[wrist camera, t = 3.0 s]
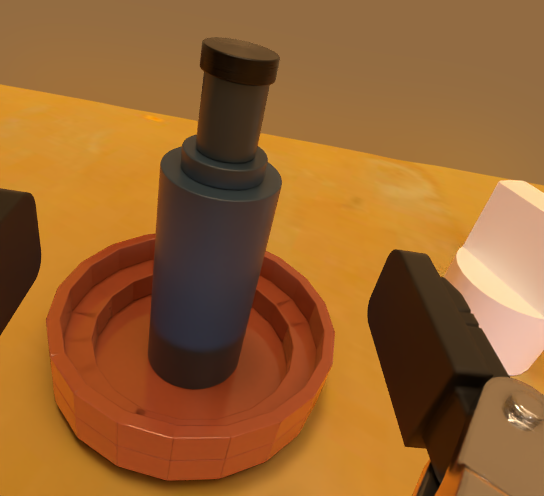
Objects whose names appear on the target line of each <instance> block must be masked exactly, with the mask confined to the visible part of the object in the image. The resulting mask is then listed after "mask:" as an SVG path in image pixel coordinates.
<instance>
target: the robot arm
mask: <svg viewBox="0 0 544 496" xmlns="http://www.w3.org/2000/svg"><path fill="white" fill-rule="evenodd" d="M40 263H41V247H40V238H39V230H38V221H37V213H36V204H35V200H34V197H33V195H32V194H31V193H27V192H21V191H14V190H7V189H1V188H0V335H1V333H2V332H3V330H4V329H5V327H6V326H7V324H8V322H9V321H10V319H11V318H12V316H13V315H14V313H15V311H16V310H17V308H18V307H19V305H20V303H21V302H22V300H23V299H24V297H25V296H26V294H27V292H28V291H29V289H30V288H31V286H32V285H33V283H34V281H35V280H36V277H37V275H38V272H39V269H40ZM368 323H369V327H370V330H371V334H372V337H373V340H374V344H375V347H376V351H377V354H378V357H379V361H380V364H381V367H382V371H383V374H384V378H385V381H386V384H387V388H388V391H389V394H390V398H391V401H392V405H393V408H394V411H395V415H396V418H397V421H398V425H399V428H400V432H401V435H402V438H403V442H404V445H405V447H414V448H426V449H427V451H428V454H429V457H430V459H429V461H428V462H427V463H426V465H425V467H424V468H423V471H422V473H421V475H420V478H419V480H418V482H417V485H416V487H415V489H414V492H413V494H412V496H544V395H543V394H541V393H540V392H539V391H537V390H536V389H534V388H533V387H531V386H530V385H528V384H526V383H524V382H522V381H519V380H516V379H513V378H510V376H509V375H508V373H507V371H506V370H505V368H504V366H503V364H502V363H501V361H500V359H499V358H498V356H497V354H496V352H495V351H494V349H493V347H492V345H491V344H490V342H489V340H488V339H487V337H486V335H485V333H484V332H483V330H482V328H479V323H478V321H477V320H476V318H475V316H474V314H472V313H471V309H470V308H469V306H468V304H467V302H466V301H465V299H464V297H463V296H462V294H461V293H460V292H459V291H458V290H457V289H456V288H455V287H454V286H453V285H452V284H451V283H450V282H449V281H448V280H447V279H446V278H443V277H440V276H439V274H438V272H437V270H436V268H435V267H434V265H433V263H432V261H431V259H430V258H429V256H428V255H427V254H423V253H416V252H410V251H403V250H396V249H395V250H393V251H392V252H391V253H390V254H389V256H388V258H387V260H386V263H385V265H384V267H383V270H382V272H381V274H380V277H379V279H378V281H377V283H376V286H375V288H374V290H373V293H372V295H371V297H370V300H369V304H368Z"/></svg>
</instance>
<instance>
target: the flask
mask: <svg viewBox="0 0 544 496" xmlns="http://www.w3.org/2000/svg"><path fill="white" fill-rule="evenodd" d="M279 60H280V57H279V55H278V54H277V53H275V52H274V51H272V50H270V49H268V48H265V47H263V46H260V45H257V44H253V43H250V42H245V41H241V40H236V39H229V38H217V37H215V38H207V39H204V40H203V42H202V50H201V59H200V67H201V69H202V70H203V71H204V77H203V86H202V94H201V104H200V112H199V121H198V130H197V135H193V136H191V137H189V138H187V139H186V140H185V141H184V142H183V144H182V147H178V148H175V149H173V150H171V151H169V152H168V153H166V154H165V155H164V156H163V158H162V160H161V164H160V178H159V193H158V208H157V222H156V237H155V252H154V267H153V282H152V297H151V312H150V327H149V341H148V358H149V362H150V365H151V366H152V368H153V370H154V371H155V372H156V374H157V375H158V376H160V377H161V378H162V379H163V380H165V381H166V382H168V383H170V384H172V385H174V386H177V387H181V388H186V389H204V388H209V387H213V386H215V385H218V384H220V383H221V382H223V381H225V380H226V379H227V378H228V377H230V375H231V374H232V373H233V372H234V370H235V369H236V367H237V365H238V361H239V357H240V353H241V349H242V345H243V341H244V337H245V333H246V329H247V325H248V320H249V316H250V312H251V308H252V304H253V300H254V296H255V292H256V288H257V284H258V280H259V275H260V271H261V267H262V263H263V259H264V255H265V251H266V247H267V243H268V239H269V235H270V230H271V226H272V222H273V218H274V214H275V210H276V206H277V202H278V198H279V194H280V190H281V185H282V180H281V176H280V174H279V173H278V171H277V170H276V169H275V168H274V167H273V166H272V165H271V164H269V163H268V158H267V155H266V153H265V152H264V151H263V150H262V149H261V148H260V147H258V141H259V136H260V131H261V126H262V121H263V115H264V111H265V105H266V101H267V96H268V91H269V86H270V85H271V84H273V83H274V82H275V80H276V75H277V70H278V65H279Z"/></svg>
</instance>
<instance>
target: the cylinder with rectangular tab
mask: <svg viewBox="0 0 544 496" xmlns="http://www.w3.org/2000/svg"><path fill="white" fill-rule="evenodd" d="M443 278H446V279H447V280H448V281H449V282H450V283H451V284H452V285H453V286H454V287H455V288H456V289H457V290H458V291H459V292H460V293H461V294H462V296H463V297H464V299H465V301H466V302H467V304H468V306H469V308H470V309H471V313H472V314H474V316H475V318H476V320H477V321H478V323H479V328H482V330H483V332H484V333H485V335H486V337H487V339H488V340H489V342H490V344H491V345H492V347H493V349H494V351H495V352H496V354H497V356H498V358H499V359H500V361H501V363H502V364H503V366H504V368H505V370H506V371H507V373H508V375H509V376H510V375H519V374H521V373H523V372H525V371H527V370H528V369H529V368H530V366H531V365H532V364H533V363H534V361H535V360H536V359H537V358H538V357H539V355H540V354H541V353H542V352H543V351H544V193H543V192H541V191H539V190H538V189H536V188H535V187H533V186H531V185H530V184H528V183H527V182H524V181H516V180H505V181H500V182H498V184H497V186H496V188H495V190H494V191H493V193H492V195H491V197H490V198H489V200H488V202H487V204H486V206H485V207H484V209H483V211H482V213H481V215H480V216H479V218H478V220H477V222H476V224H475V225H474V227H473V229H472V231H471V233H470V234H469V236H468V238H467V240H466V241H465V243H464V245H463V247H461V248H460V249H459V250H458V251H457V253H456V255H455V257H454V259H453V261H452V262H451V264H450V266H449V268H448V270H447V271H446V273H445V275H444V277H443Z"/></svg>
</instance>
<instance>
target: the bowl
mask: <svg viewBox="0 0 544 496" xmlns="http://www.w3.org/2000/svg"><path fill="white" fill-rule="evenodd" d="M155 237H156V234H148V235H143V236H140V237H136V238H133V239H129V240H126V241H123V242H119V243H116V244H113V245H111V246H109V247H107V248H105V249H104V250H102V251H100V252H98V253H97V254H95V255H93V256H91V257H90V258H88V259H86V260H84V261H83V262H81V263H80V264H79V265H78V266H77V268H76V269H75V270H74V271H73V272H72V273H71V274H70V275H69V276H68V277H67V278H66V279H65V280H64V281H63V283H62V284H61V285H60V286H59V287H58V289H57V291H56V294H55V297H54V299H53V302H52V305H51V307H50V310H49V313H48V315H47V318H46V326H47V335H48V344H49V353H50V362H51V370H52V378H53V386H54V395H55V401H56V403H57V405H58V407H59V408H60V410H61V412H62V413H63V415H64V416H65V418H66V420H67V421H68V423H69V425H70V426H71V428H72V430H73V431H74V433H75V434H76V436H77V437H78V438H79V439H80V440H82V441H83V442H84V443H86V444H87V445H89V446H90V447H91V448H93V449H94V450H95V451H97V452H98V453H100V454H101V455H102V456H104V457H105V458H106V459H108V460H109V461H111V462H112V463H113V464H115V465H117V466H118V467H122V468H125V469H129V470H132V471H136V472H139V473H143V474H146V475H149V476H153V477H156V478H160V479H163V480H168V481H170V480H199V479H220V478H223V477H226V476H229V475H231V474H234V473H237V472H239V471H242V470H245V469H248V468H250V467H253V466H256V465H258V464H261V463H264V462H265V461H267V460H269V459H270V458H271V457H272V456H273V455H275V454H276V453H277V452H278V451H279V450H281V449H282V448H283V447H284V446H285V445H287V444H288V443H289V442H290V441H291V440H293V439H294V438H295V437H296V436H297V435H298V434H299V433H300V431H301V429H302V428H303V426H304V424H305V422H306V420H307V418H308V417H309V415H310V413H311V411H312V409H313V407H314V406H315V404H316V402H317V399H318V397H319V395H320V392H321V390H322V388H323V385H324V383H325V381H326V378H327V376H328V374H329V371H330V369H331V367H332V364H333V350H334V337H335V331H334V328H333V325H332V322H331V319H330V316H329V313H328V310H327V307H326V304H325V302H324V301H323V300H322V298H321V297H320V296H319V294H318V293H317V292H316V290H315V289H314V288H313V286H312V285H311V284H310V283H309V281H308V280H307V279H306V278H305V277H304V276H303V275H301V274H300V273H299V272H298V271H296V270H295V269H294V268H292V267H291V266H290V265H289V264H287V263H286V262H285V261H284V260H282V259H281V258H279V257H277V256H275V255H273V254H271V253H269V252H267V251H265V255H264V259H263V263H262V267H261V271H260V275H259V280H258V284H257V288H256V292H255V296H254V300H253V304H252V308H251V312H250V316H249V320H248V325H247V329H246V333H245V337H244V341H243V345H242V349H241V353H240V357H239V361H238V365H237V367H236V369H235V370H234V372H233V373H232V374H231V375H230V377H228V378H227V379H226V380H225V381H223V382H221V383H220V384H218V385H215V386H213V387H209V388H204V389H186V388H181V387H177V386H174V385H172V384H170V383H168V382H166V381H165V380H163V379H162V378H161V377H160V376H158V375H157V374H156V372H155V371H154V370H153V368H152V366H151V365H150V362H149V358H148V341H149V327H150V312H151V297H152V282H153V267H154V252H155Z"/></svg>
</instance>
